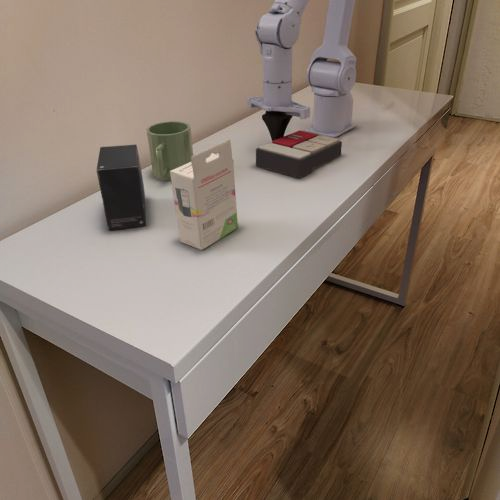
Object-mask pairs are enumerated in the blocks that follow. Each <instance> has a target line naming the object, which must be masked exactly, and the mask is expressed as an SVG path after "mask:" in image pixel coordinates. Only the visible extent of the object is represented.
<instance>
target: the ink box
mask: <svg viewBox="0 0 500 500" xmlns="http://www.w3.org/2000/svg"><path fill="white" fill-rule="evenodd" d="M170 175H171V180H170V182H171V190H172V195H173V202H174V211H175V216H176V224H177V231H178V237H179V242H180V243H183V244H185V245H188V246H190V247H193V248H195V249H197V250H201V251H203V250H205V249H207V248H208V247H209V246H211V245H213V244H215V243H216V242H218V241H219V240H221V239H223V238H224V237H226V236H227V235H229V234H231V233H232V232H234V231H235V230H237V229H238V227H239V223H238V210H237V196H236V182H235V181H236V180H235V166H234V159H233V151H232V143H231V139H229V138H227V140H225V141H223V142H220V143H217V144H215V145H213V146H210V147H208V148H206V149H204V150H202V151H201V152H198V153H195V154H193V156H192V158H191V162H189V163H187V164H185V165H183V166H180V167H178V168H176V169H174V170H171V171H170Z"/></svg>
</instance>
